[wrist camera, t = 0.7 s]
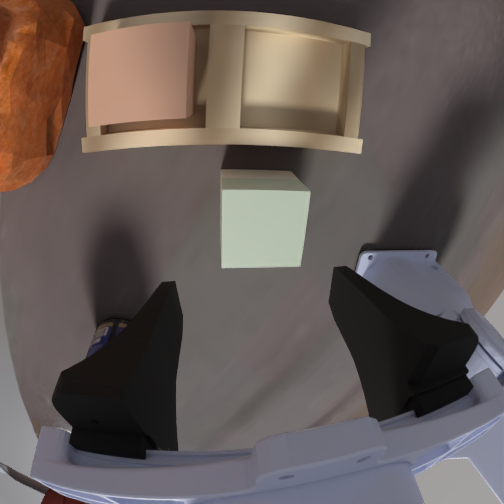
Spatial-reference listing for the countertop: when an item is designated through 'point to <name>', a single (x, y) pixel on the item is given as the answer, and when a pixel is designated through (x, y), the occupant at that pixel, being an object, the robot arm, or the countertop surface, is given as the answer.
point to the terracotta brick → (142, 73)
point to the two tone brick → (262, 218)
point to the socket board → (255, 84)
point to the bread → (34, 83)
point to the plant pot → (58, 498)
